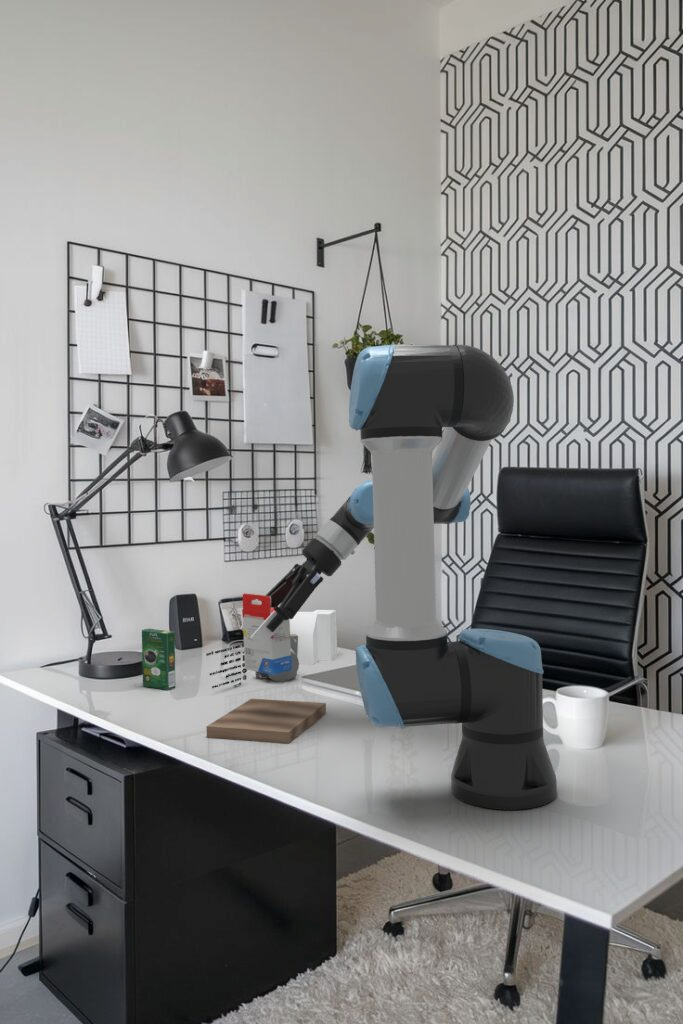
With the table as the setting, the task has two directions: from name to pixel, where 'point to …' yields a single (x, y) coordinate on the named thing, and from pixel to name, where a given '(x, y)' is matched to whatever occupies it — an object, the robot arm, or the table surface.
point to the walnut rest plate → (267, 720)
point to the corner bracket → (315, 635)
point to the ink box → (276, 649)
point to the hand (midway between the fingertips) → (250, 637)
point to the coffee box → (158, 658)
